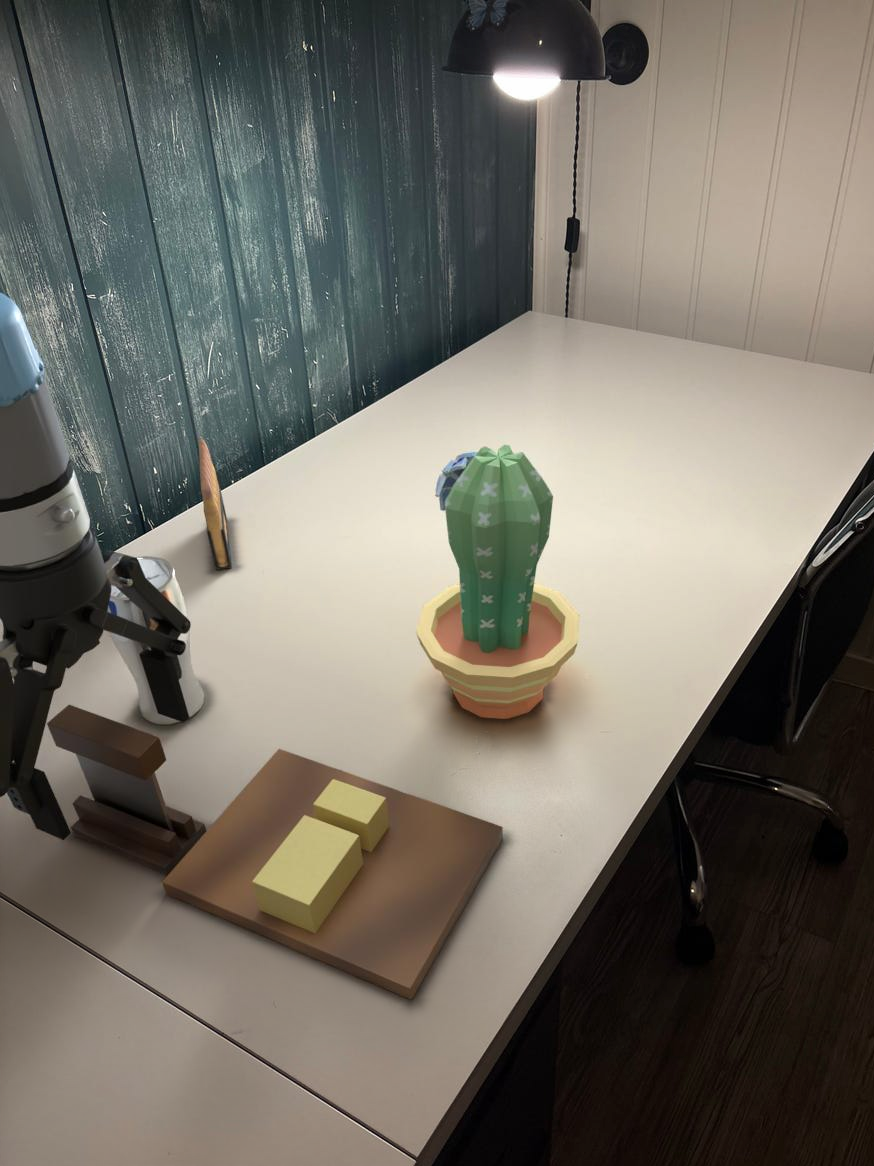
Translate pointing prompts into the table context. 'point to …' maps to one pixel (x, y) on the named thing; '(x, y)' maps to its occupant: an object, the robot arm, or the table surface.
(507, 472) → the potted cactus
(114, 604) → the beer glass
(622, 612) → the table surface
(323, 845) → the butter
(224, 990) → the table surface
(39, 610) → the robot arm
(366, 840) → the butter pat
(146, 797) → the cleaver
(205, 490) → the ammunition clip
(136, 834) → the knife holder
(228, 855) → the board
